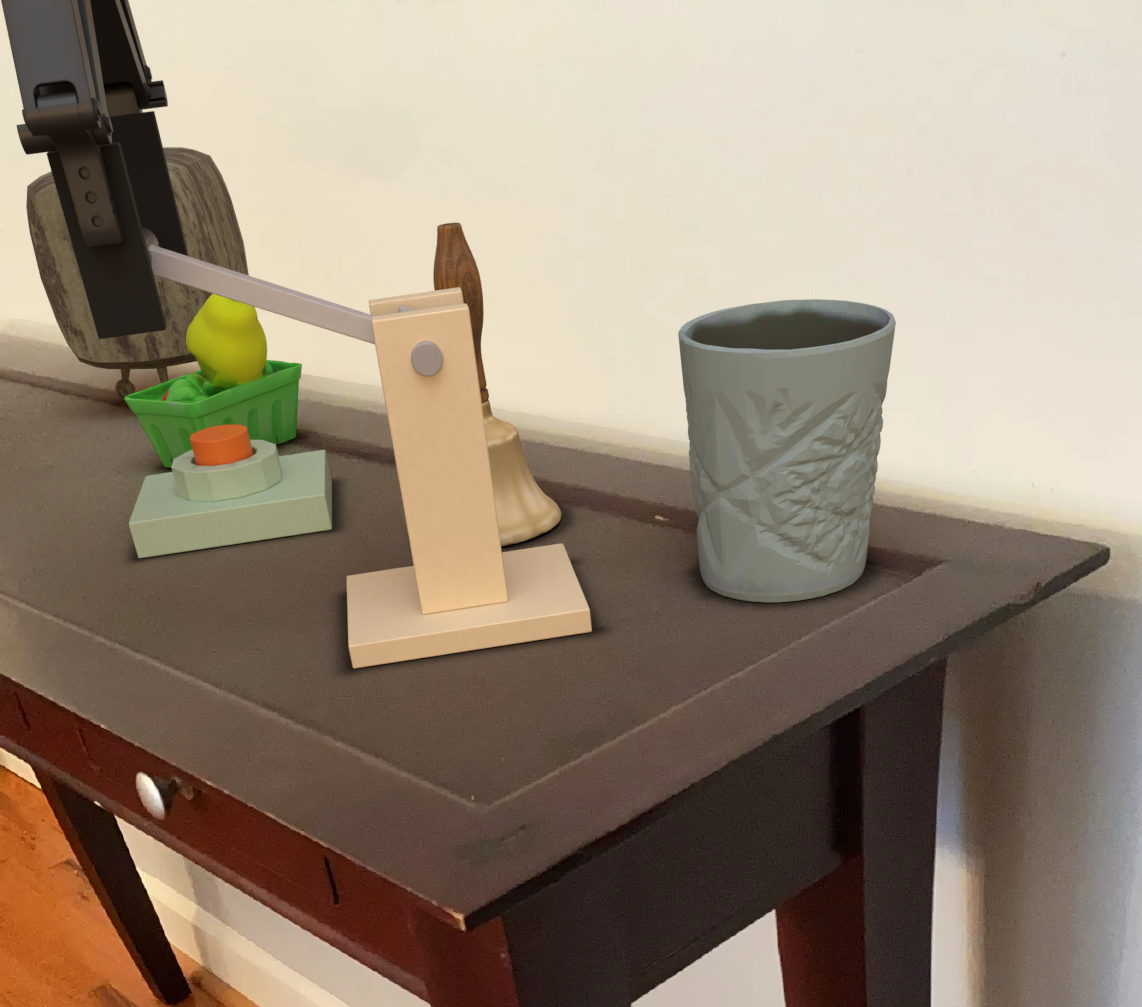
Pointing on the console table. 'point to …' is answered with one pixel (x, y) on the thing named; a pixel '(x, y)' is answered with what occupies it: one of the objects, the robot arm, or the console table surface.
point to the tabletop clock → (206, 239)
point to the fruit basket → (222, 384)
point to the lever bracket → (449, 508)
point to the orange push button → (221, 445)
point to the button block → (232, 501)
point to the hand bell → (513, 484)
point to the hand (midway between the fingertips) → (149, 301)
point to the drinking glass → (785, 442)
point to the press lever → (259, 292)
